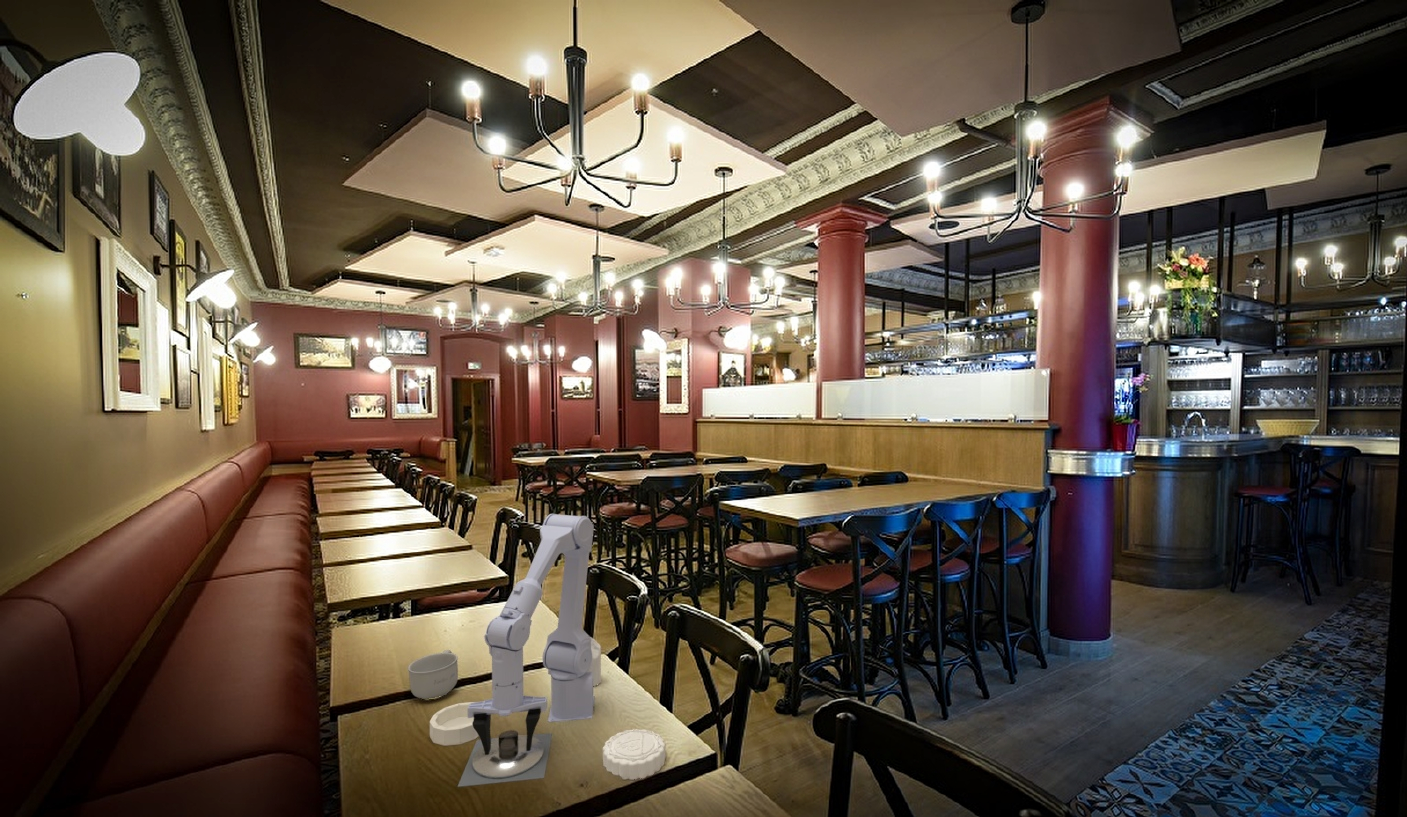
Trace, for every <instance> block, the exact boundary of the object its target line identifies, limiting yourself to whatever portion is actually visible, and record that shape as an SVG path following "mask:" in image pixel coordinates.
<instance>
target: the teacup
mask: <svg viewBox="0 0 1407 817" xmlns="http://www.w3.org/2000/svg"><path fill="white" fill-rule="evenodd" d="M458 659H459V658H458V655H457V653H453V652H452V651H451V649H450V650H449V649H446V650H444V651H442V652H438V653H437V652H436V653H431V654H427V655H425V656H422V657H420V658H418V659H416V660H414V661H412V662H411V663H409V665H408V667H407V670H408V677H409V678H408V680H409V686H410V692H411V693H412V695H413V696H414V697H416V698H418V699H420V698H423V699H429V698H435V697H439V696H443V695H445V696H446V695H448V694H449V693H450V692H451V691H452V689H454V688H455V686H456V685H457V682H458V679H459V666H458V665H459V664H458ZM449 691H450V692H449ZM448 692H449V693H448ZM447 693H448V694H447ZM443 697H444V696H443Z"/></svg>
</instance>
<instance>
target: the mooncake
mask: <svg viewBox="0 0 1407 817" xmlns="http://www.w3.org/2000/svg"><path fill="white" fill-rule="evenodd" d="M602 761H603V764H602V765H603V767H605V768H606V771H607V772H610V773H611V775H612V774H613V776H619V777H621V780H622V781H623V780H630V781H635V780H637V779H639V778H640V779H641V778H642V779H645V778H647V777H649V776H653V775H654V774H655V772H656V773H657V772H659V771H660V770H661V768H662V767H663V766H665V761H666V743H665V740H664V738H663V737H661V735H660V734H659V733H655V732H654V731H653V730H647V729H645V728H644V729H643V728H642V729H638V728H634V729H632V730H631V729H625V730H624V731H622V732H617V733H616V734H615V735H612V736H610V737H609V739H608V740H606V741H605V742H604V746H603V747H602ZM634 779H635V780H634ZM642 779H641V780H642Z"/></svg>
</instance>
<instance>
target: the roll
mask: <svg viewBox="0 0 1407 817" xmlns="http://www.w3.org/2000/svg"><path fill="white" fill-rule="evenodd" d="M589 637H590V638H591V650H592V662H591V666H590V668H589V669H588V671H593V686H594V687H596V686H595V685H597V684H599V683H600V682H601V683H602V646H601V644H599V642H597V640H596V639H594V638H593V637H592V636H589ZM601 683H600V684H601ZM600 684H599V685H600ZM597 686H598V685H597Z"/></svg>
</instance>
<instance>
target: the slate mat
mask: <svg viewBox="0 0 1407 817" xmlns="http://www.w3.org/2000/svg"><path fill="white" fill-rule="evenodd" d="M553 735H554V734H553V732H549V733H548V732H546V733H536V734H533V737H535V738H537V739H538V740H540V741H541V743H542V744H543V757H542V759H541V760H540V762H539V763H538V764H537V765H536V766H534V767H533V768H532V769H530V770H528V771H527V772H525V773H522V774H520V775H517V776H514V777H510V778H504V779H489V778H484V777H481V776H479V775H478V774H476V773H475V771H474V770H473V766H472V761H473V757H474V755H475V753H476V752H477V751H478V750H479V749H480V748H481V747H482V746H483V745H482V742H481V739H480V738H479V739H477V740H476V741H475V744H474V746H473V748H472V751H471V753H470V754H469V757H468V758H469V759H468V761H467V763H466V765H465V768H464V770H463V772H462V775H461V778H460V779H459V782H458V785H457V788H462V787H473V786H480V785H491V784H492V785H493V784H501V783H511V782H518V781H519V782H521V781H522V782H523V781H530V780H539V779H545V774H546V769H547V764H548V758H549V755H550V749H551V742H552V739H553ZM498 738H499V737H493V738H491V741H493V740H495V739H498Z"/></svg>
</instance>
